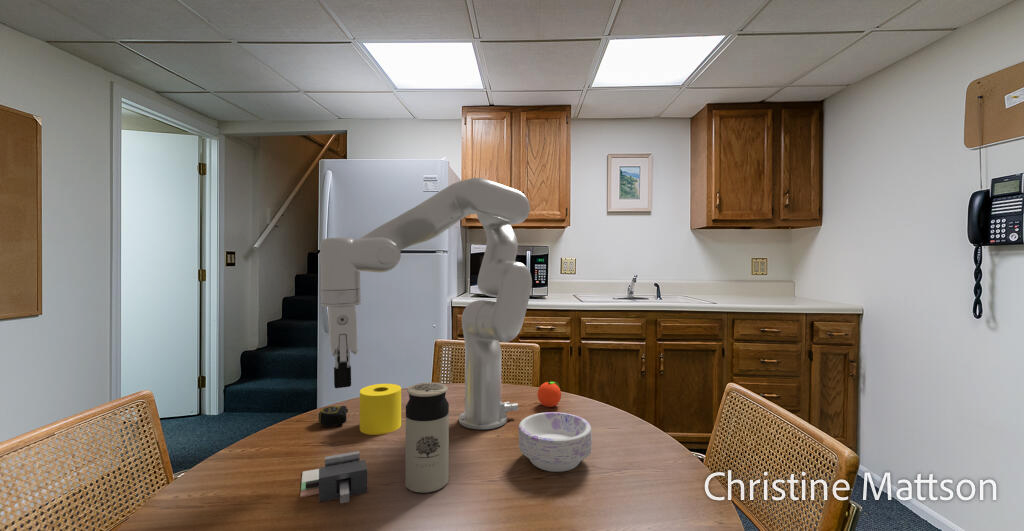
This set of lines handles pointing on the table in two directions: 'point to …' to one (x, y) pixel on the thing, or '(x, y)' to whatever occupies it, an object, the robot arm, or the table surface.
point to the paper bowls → (555, 440)
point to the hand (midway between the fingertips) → (342, 386)
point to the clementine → (549, 394)
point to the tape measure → (333, 415)
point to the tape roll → (380, 409)
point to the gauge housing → (342, 471)
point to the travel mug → (427, 437)
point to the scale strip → (309, 476)
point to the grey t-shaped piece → (342, 482)
